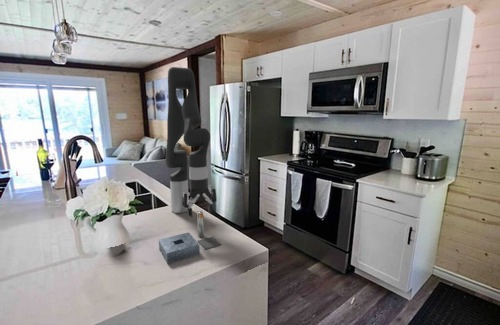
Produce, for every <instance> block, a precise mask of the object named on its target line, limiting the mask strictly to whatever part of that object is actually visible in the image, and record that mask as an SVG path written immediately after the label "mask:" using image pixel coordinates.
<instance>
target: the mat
mask: <svg viewBox="0 0 500 325" xmlns="http://www.w3.org/2000/svg"><path fill="white" fill-rule="evenodd" d="M197 242H198V243H199V246H201V247H202V248H203V249H204V250H209V249H213V248H216V247H220V246H222V243H221V242H220V241H219V240H218V239H216V237H215V236H210V237H206V238H202V239H198V240H197Z"/></svg>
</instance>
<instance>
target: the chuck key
mask: <svg viewBox="0 0 500 325" xmlns="http://www.w3.org/2000/svg"><path fill="white" fill-rule="evenodd" d="M204 215H205V214H204V212H203V210H198V211H196V216H197V218H196V219H197V237H198V238H203V237H204V233H205V231H204V218H205V216H204Z"/></svg>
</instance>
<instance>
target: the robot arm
mask: <svg viewBox="0 0 500 325" xmlns="http://www.w3.org/2000/svg"><path fill="white" fill-rule="evenodd" d="M177 90H187V95H186V97H185V99H184V100H183V102H182V104H181V102H180V101H179V98H178V96H177ZM167 95H168V98H167V100H168V105H167V119H166V120H167V121H166V122H167V123H166V124H167V126H166V128H167V129H166V130H167V131H166V132H167V134H166V135H167V136H166V149H165V165H166V167H167V168H169V169H178V168H179V169H178V170H176V171H175V172H173V173H171V174H170V175H169V185H170V187H169V190H170V203H171V212H172V213H175V214H183V213H186V212H187V215H188V216H189V217H190V218H192V217H193V205H194V204H195V203H196V202H197V203H198V202H201V201H202V202H203V201H206V202H207V212H208V213H212V211H213V204H214V203H216V202H217V192H216V191H217V190H216V188H214V187H211V188H209V174H208V173H209V172H208V167H207V166H208V165H207V163H208V161H207V155H208V150H209V149H208V148H209V144H210V141H211V133H210V132H209V130H208V129H207V128H204V127H201V128H199V127H200V125H202V119H201V118H202V116H201V113H200V110H199V106H198V99H197V98H198V97H197V88H196V79H195V74H194V71H193V70H192V69H191V68H188V67H178V66H170V67H169V69H168V70H167ZM182 137H183V143H184V144H185V145H186V146H188V147H199V148H198V150H196V151H191V152H189V155H188V153H187V151H186V150H185V149H176V146H177V144H178V142H179V141H180V140H181V139H182ZM188 163H189V165H188ZM188 166H189V170H188ZM188 174H189V178H188ZM188 179H189V181H188ZM209 194H210V197H211V198H210V197H209V196H208V195H209ZM189 196H190V198H189Z"/></svg>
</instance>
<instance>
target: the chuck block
mask: <svg viewBox="0 0 500 325" xmlns="http://www.w3.org/2000/svg"><path fill="white" fill-rule="evenodd" d="M158 249H159V251H160V253H161V254H162V256H163V259H164V260H165V262H166V264H167V265H168V264H169V265H170V264H171V263H175V262H178V261H181V260H186V259H188V258H191V257H192V258H193V257H196V256H198V255H200V253H201V251H200V250H201V249H200V243H199V242H198V240H196V238H194V237H193V235H192V234H191V233H190V232H185V233H179V234H177V235H173V236H168V237H164V238H161V239H160V238H159V239H158Z"/></svg>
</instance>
